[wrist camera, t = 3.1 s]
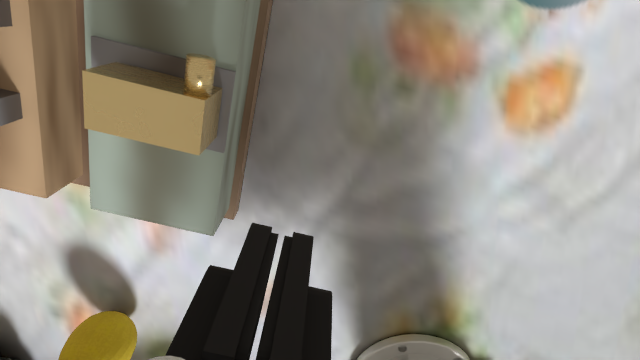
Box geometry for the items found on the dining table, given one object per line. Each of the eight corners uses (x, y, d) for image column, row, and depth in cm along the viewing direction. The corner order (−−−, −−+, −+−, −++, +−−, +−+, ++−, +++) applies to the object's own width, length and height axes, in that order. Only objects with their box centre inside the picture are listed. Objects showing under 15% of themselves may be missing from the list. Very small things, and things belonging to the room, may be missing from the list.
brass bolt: (226, 55, 20) (208, 63, 18) (216, 137, 22) (199, 155, 20) (116, 27, 20) (80, 31, 17) (116, 113, 22) (84, 128, 19)
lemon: (105, 284, 36) (45, 355, 28) (159, 309, 37) (114, 384, 29) (89, 320, 38) (29, 394, 31) (140, 342, 39) (94, 419, 32)
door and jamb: (283, -63, 23) (253, -99, 15) (237, 210, 31) (203, 279, 24) (-69, -160, 22) (-300, -253, 14) (-17, 151, 30) (-143, 203, 22)
